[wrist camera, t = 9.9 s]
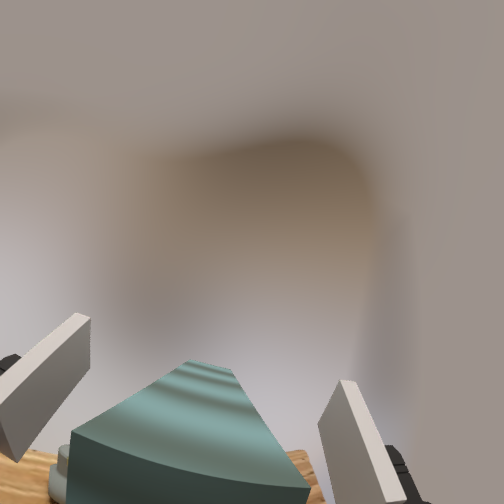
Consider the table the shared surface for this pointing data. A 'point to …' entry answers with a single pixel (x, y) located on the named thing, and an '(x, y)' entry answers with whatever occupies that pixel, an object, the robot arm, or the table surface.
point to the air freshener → (59, 476)
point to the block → (182, 447)
